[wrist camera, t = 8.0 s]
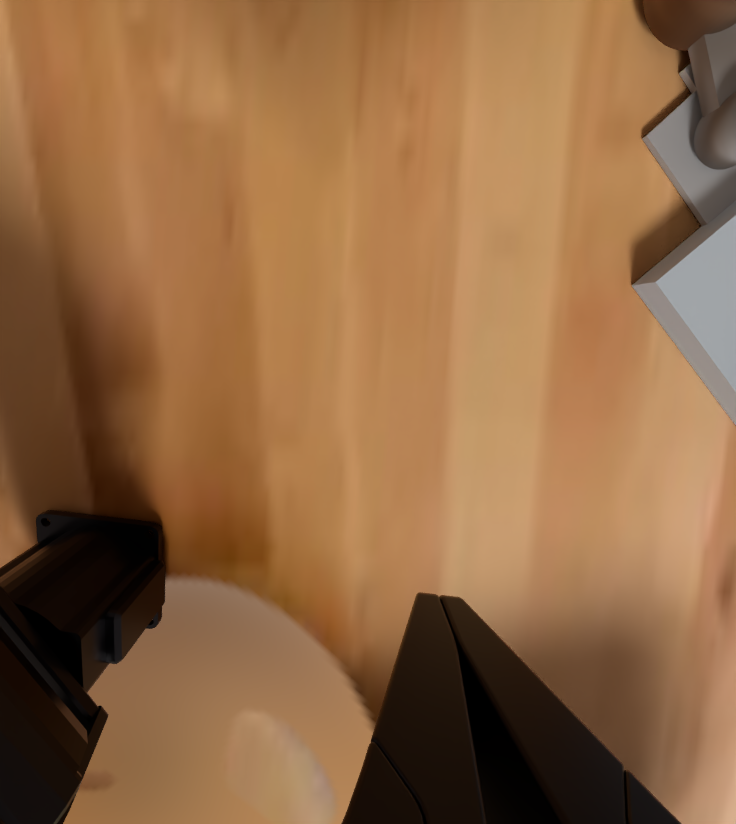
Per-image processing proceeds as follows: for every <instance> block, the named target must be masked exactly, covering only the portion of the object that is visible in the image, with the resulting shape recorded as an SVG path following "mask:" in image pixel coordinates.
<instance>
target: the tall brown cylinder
mask: <svg viewBox="0 0 736 824" xmlns="http://www.w3.org/2000/svg"><path fill="white" fill-rule="evenodd" d="M643 8H644V14H645V18H646V21H647V24H648V26H649V28H650V30H651V31H652V33H653V35H654V36H655V37H656V38H657V39H658V40H659V41H660V42H662V43H663V44H664V45H666V46H668V47H670V48H673V49H677V50H688V52H689V57H690V61H691V66H692V71H693V75H694V80H695V84H696V89H697V93H698V98H699V102H700V107H701V111H702V116H703V117H702V118H701V119H700V121H699V123H698V125H697V128H696V131H695V135H694V148H695V152H696V155H697V157H698V159H699V160H700V161H701V162H702V163H703V164H704V165H705V166H707V167H709V168H711V169H716V170H722V169H727V168H730V167H733V166H735V165H736V0H643Z"/></svg>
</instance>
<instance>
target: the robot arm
mask: <svg viewBox="0 0 736 824" xmlns="http://www.w3.org/2000/svg"><path fill="white" fill-rule="evenodd" d="M47 519H49V520H50V522H49V521H48V520H47ZM36 527H37V540H38V543H37V544H36V545H34V546H33V547H31V548H30V549H28V550H27V551H25V552H24V553H22V554H21V555H19V556H18V557H16V558H15V559H13V560H12V561H10V562H9V563H7V564H6V565H4V566H3V567H1V568H0V824H63V822H64V820H65V818H66V816H67V814H68V812H69V810H70V808H71V805H72V803H73V801H74V798H75V796H76V793H77V791H78V789H79V786H80V784H81V781H82V779H83V776H84V774H85V771H86V769H87V767H88V764H89V762H90V759H91V757H92V754H93V752H94V749H95V747H96V745H97V742H98V740H99V737H100V735H101V732H102V730H103V728H104V725H105V723H106V720H107V718H108V714H107V712H106V711H105V710H104V709H103V707H102V706H97V705H96V703H95V702H94V701H93V700H92V698H91V697H90V696H89V695H88V694H87V692H88V691H89V690H90V688H91V687H92V686H93V684H94V683H95V682H96V680H97V679H98V678H99V677H100V675H101V674H102V673H103V671H104V670H105V669H106V667H107V666H108V665H109V663H112V664H117V663H119V662H120V661H121V660H122V659H123V658H124V657H125V656H126V654H127V653H128V651H129V650H130V649H131V648H132V646H133V645H134V644H135V642H136V641H137V639H138V638H139V637H140V635H141V634H142V633H143V631H144V630H145V629H146V628H149V629H152V628H155V627H156V626H157V625H158V623H159V622H160V621H161V617H162V605H163V604H164V602H165V564H164V562H163V561H162V528H161V526H160V525H158V524H157V523H154V522H147V521H139V520H130V519H122V518H113V517H105V516H96V515H88V514H80V513H71V512H63V511H54V510H47V511H45V512H43V513H42V514H40V515H38V517H37V518H36ZM149 530H150V531H152V532H153V533H154V535H152V534H150V533H149ZM152 619H153V620H152ZM342 824H681V823H680V822H679V821H678V820H677V819H676V818H675V817H674V816H673V815H672V814H671V813H670V812H669V811H668V810H667V809H666V808H665V807H664V806H663V805H662V804H661V803H660V802H659V801H658V800H657V799H656V798H655V797H654V796H653V794H652V793H651V792H650V791H649V790H648V789H647V788H646V787H645V786H644V785H643V784H642V783H641V782H640V781H639V780H638V779H637V778H636V777H635V776H634V775H633V774H632V773H631V772H630V771H629V770H625V771H624V766H623V764H622V763H621V762H620V761H619V760H618V759H617V758H616V757H615V756H614V755H613V754H612V753H611V752H610V750H609V749H608V748H607V747H606V746H605V745H604V744H603V743H602V742H601V741H600V740H599V739H598V738H597V737H596V736H595V735H594V734H593V733H592V732H591V731H590V730H589V729H588V728H587V727H586V726H585V725H584V724H583V723H582V722H581V721H580V720H579V719H578V718H577V716H576V715H575V714H574V713H573V712H572V711H571V710H570V709H569V708H568V707H567V706H566V705H565V704H564V703H563V702H562V701H561V700H560V699H559V698H558V697H557V696H556V695H555V694H554V693H553V692H552V691H551V690H550V689H549V688H548V687H547V686H546V685H545V684H544V682H543V681H542V680H541V679H540V678H539V677H538V676H537V675H536V674H535V673H534V672H533V671H532V670H531V669H530V668H529V667H528V666H527V665H526V664H525V663H524V662H523V661H522V660H521V659H520V658H519V657H518V656H517V655H516V654H515V653H514V652H513V651H512V650H511V648H510V647H509V646H508V645H507V644H506V643H505V642H504V641H503V640H502V639H501V638H500V637H499V636H498V635H497V634H496V633H495V632H494V631H493V630H492V629H491V628H490V627H489V626H488V625H487V624H486V623H485V622H484V621H483V620H482V619H481V618H480V617H479V616H478V615H477V613H476V612H475V611H474V610H473V609H472V608H471V607H470V606H469V605H468V604H467V603H466V602H465V601H464V600H463V599H462V598H460V597H454V596H446V595H441V596H440V597H439V596H438V595H436V594H429V593H418V594H417V595H416V598H415V601H414V604H413V607H412V611H411V614H410V617H409V620H408V623H407V627H406V630H405V633H404V636H403V639H402V642H401V646H400V649H399V652H398V655H397V658H396V662H395V665H394V668H393V671H392V674H391V678H390V681H389V684H388V687H387V690H386V694H385V697H384V700H383V703H382V706H381V710H380V713H379V716H378V719H377V722H376V726H375V729H374V732H373V735H372V739H371V743H370V744H369V747H368V750H367V753H366V757H365V760H364V763H363V767H362V769H361V772H360V775H359V778H358V781H357V784H356V787H355V789H354V792H353V795H352V798H351V801H350V804H349V807H348V809H347V812H346V815H345V817H344V819H343V822H342Z"/></svg>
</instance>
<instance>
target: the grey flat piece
mask: <svg viewBox="0 0 736 824" xmlns="http://www.w3.org/2000/svg"><path fill="white" fill-rule="evenodd" d="M679 75H680V76H681V78H682V79H683V81H684V82H685V84H686V85H687V87H688V88H689V90H690V92H691V93H692V94H691V95H690V96H689V97H687V98H686V99H685V100H684V101H683V102H682V103H681V104H680V105H679V106H678V107H676V108H675V109H674V110H673V111H672V112H671V113H670V114H669V115H668V116H667V117H665V118H664V119H663V120H662V121H661V122H660V123H659V124H658V125H657V126H656V127H655V128H653V129H652V130H651V131H650V132H649V133H648V134H647V135H646V136H645V137H644V138H642V139H643V141H644V142H645V144H646V145H647V147H648V148H649V150H650V151H651V153H652V154H653V156H654V157H655V158H656V160H657V161H658V163H659V164H660V166H661V167H662V169H663V170H664V172H665V173H666V175H667V176H668V177H669V179H670V180H671V182H672V183H673V185H674V186H675V188H676V189H677V191H678V192H679V194H680V195H681V196H682V198H683V199H684V201H685V202H686V204H687V205H688V207H689V208H690V210H691V211H692V213H693V214H694V215H695V217H696V218H697V220H698V221H699V223H700V224H701V227H700V228H699V229H698V230H697V231H695V232H694V233H693V234H692V235H691V236H689V237H688V238H687V239H686V240H685V241H684V242H682V243H681V244H680V245H679V246H678V247H676V248H675V249H674V250H673V251H672V252H671V253H669V254H668V255H667V256H666V257H665V258H663V259H662V260H661V261H660V262H659V263H658V264H656V265H655V266H654V267H653V268H652V269H650V270H649V271H648V272H647V273H646V274H645V275H643V276H642V277H641V278H640V279H639V280H637V281H636V282H635V283H634V284H633V285H632V287H633V288H634V289H635V291H636V292H637V293H638V295H639V296H640V297H641V299H642V300H643V302H644V303H645V304H646V306H647V307H648V308H649V310H650V311H651V312H652V314H653V315H654V316H655V318H656V319H657V320H658V322H659V323H660V324H661V326H662V327H663V328H664V330H665V331H666V332H667V334H668V335H669V336H670V338H671V339H672V341H673V342H674V343H675V345H676V346H677V347H678V349H679V350H680V351H681V353H682V354H683V355H684V357H685V358H686V359H687V361H688V362H689V363H690V365H691V366H692V367H693V369H694V370H695V371H696V373H697V374H698V376H699V377H700V378H701V380H702V381H703V382H704V384H705V385H706V386H707V388H708V389H709V390H710V392H711V393H712V394H713V396H714V397H715V398H716V400H717V401H718V402H719V404H720V405H721V406H722V408H723V409H724V411H725V412H726V413H727V415H728V416H729V417H730V419H731V420H732V421H733V423H734V424H735V425H736V165H735V166H733V167H730V168H727V169H722V170H716V169H711V168H709V167H707V166H705V165H704V164H703V163H702V162H701V161H700V160H699V159H698V157H697V155H696V152H695V148H694V135H695V131H696V128H697V125H698V123H699V121H700V119H701V118H702V117H703V116H702V111H701V107H700V102H699V98H698V93H697V89H696V84H695V80H694V75H693V71H692V66H691V63H690V64H688V65H687V66H686V67H685V68H684V69H683V70H682V71H681V72H680V73H679Z"/></svg>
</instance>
